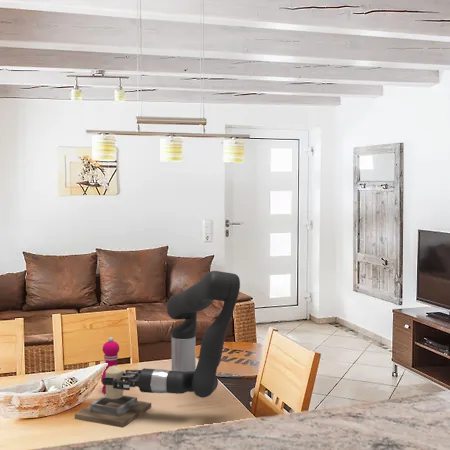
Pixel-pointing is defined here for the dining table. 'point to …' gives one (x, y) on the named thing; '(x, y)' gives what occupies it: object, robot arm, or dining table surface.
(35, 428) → the dining table surface
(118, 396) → the candle
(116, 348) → the pepper mill
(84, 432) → the dining table surface
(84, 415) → the board
